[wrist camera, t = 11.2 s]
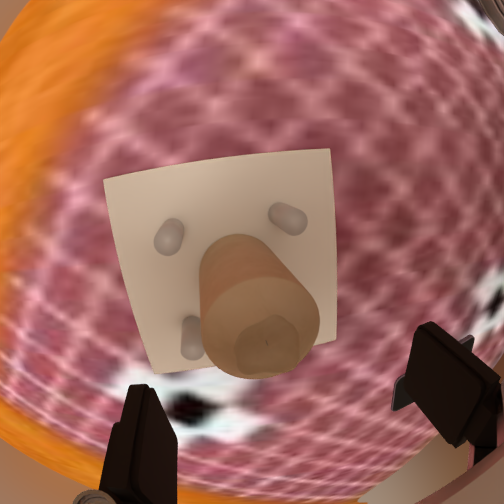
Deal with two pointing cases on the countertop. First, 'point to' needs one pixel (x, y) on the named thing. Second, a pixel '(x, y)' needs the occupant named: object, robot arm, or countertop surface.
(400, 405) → the smartphone
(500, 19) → the can
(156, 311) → the plate
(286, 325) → the candle
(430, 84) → the countertop surface
